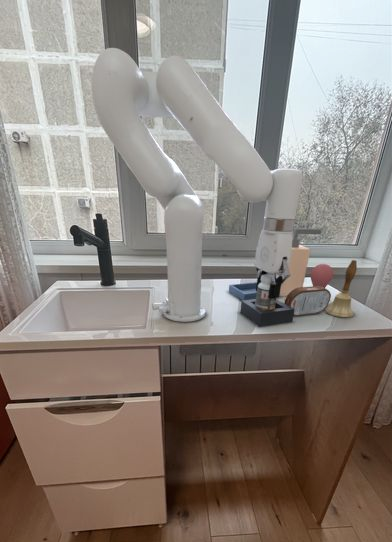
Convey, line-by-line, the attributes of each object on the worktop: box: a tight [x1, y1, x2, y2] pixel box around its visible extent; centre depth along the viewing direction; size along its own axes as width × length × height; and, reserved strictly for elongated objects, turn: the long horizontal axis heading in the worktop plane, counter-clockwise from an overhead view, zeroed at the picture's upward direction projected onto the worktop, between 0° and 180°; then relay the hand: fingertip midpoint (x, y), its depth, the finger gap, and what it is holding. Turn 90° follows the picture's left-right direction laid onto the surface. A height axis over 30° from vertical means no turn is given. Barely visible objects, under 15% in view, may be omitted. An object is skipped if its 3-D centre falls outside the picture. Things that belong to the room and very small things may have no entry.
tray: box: [228, 281, 281, 301], centre depth 103 cm, size 14×11×3 cm
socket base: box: [239, 298, 295, 328], centre depth 84 cm, size 11×11×4 cm
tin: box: [283, 285, 332, 317], centre depth 86 cm, size 15×3×8 cm, turn 109°
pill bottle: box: [255, 273, 278, 310], centre depth 81 cm, size 6×6×10 cm
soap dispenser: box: [276, 228, 323, 297], centre depth 102 cm, size 13×9×22 cm
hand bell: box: [324, 259, 358, 318], centre depth 86 cm, size 8×8×16 cm
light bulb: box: [310, 263, 334, 289], centre depth 98 cm, size 7×7×12 cm
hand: (266, 293), depth 81 cm, fingers closed on pill bottle, 5 cm apart
